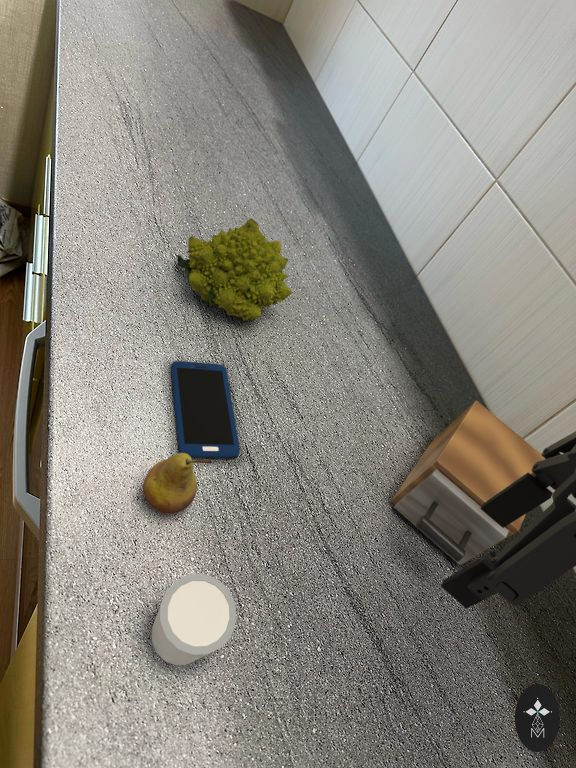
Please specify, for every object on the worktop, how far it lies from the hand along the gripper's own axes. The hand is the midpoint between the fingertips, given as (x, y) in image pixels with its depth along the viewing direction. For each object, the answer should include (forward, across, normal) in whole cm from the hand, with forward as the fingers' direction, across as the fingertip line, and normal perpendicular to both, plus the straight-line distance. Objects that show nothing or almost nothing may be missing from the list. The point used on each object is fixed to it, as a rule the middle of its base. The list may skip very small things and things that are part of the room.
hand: (475, 552), depth 51 cm
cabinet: (+18, -20, 0) cm, 27 cm away
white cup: (+18, +17, -15) cm, 29 cm away
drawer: (+17, -16, 0) cm, 23 cm away
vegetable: (+18, -22, -42) cm, 51 cm away
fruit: (+18, +8, -26) cm, 33 cm away
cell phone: (+18, -4, -31) cm, 36 cm away
